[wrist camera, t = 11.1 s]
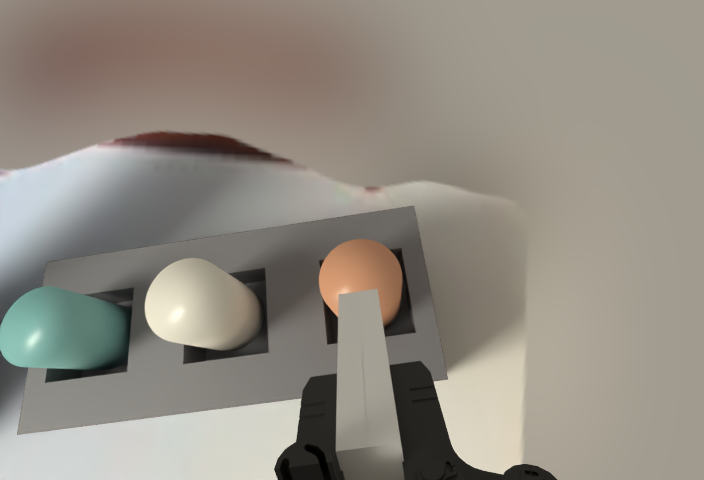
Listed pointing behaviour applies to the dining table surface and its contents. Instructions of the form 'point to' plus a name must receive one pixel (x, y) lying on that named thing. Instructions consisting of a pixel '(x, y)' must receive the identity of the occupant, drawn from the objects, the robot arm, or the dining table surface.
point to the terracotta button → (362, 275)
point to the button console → (250, 361)
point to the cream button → (203, 307)
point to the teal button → (65, 331)
